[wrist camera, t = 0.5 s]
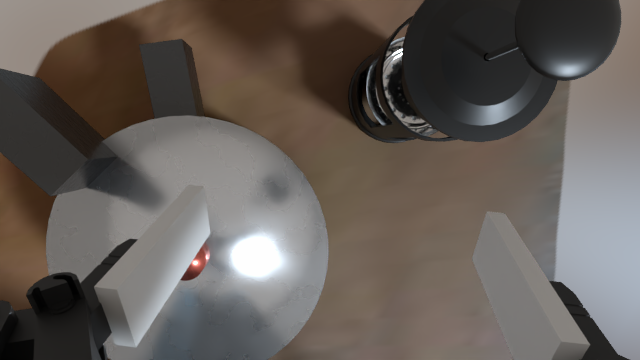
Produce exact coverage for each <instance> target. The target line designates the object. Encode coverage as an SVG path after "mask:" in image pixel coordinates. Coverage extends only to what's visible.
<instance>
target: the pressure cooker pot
mask: <svg viewBox="0 0 640 360" xmlns="http://www.w3.org/2000/svg"><path fill="white" fill-rule="evenodd" d="M139 46H140V51H141V56H142V61H143V65H144V70H145V75H146V80H147V84H148V89H149V94H150V98H151V103H152V108H153V113H154V117H155V119H157V118H162V117H168V116H199V117H205V115H204V110H203V104H202V99H201V94H200V89H199V84H198V79H197V73H196V68H195V63H194V58H193V53H192V48H191V47H190V46H189V45H188V44H187V43H186V42H185V41H184V40H182V39H178V40H171V41H163V42H156V43H148V44H141V45H139Z"/></svg>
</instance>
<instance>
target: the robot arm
mask: <svg viewBox="0 0 640 360" xmlns="http://www.w3.org/2000/svg"><path fill="white" fill-rule="evenodd" d="M209 235H210V226H209V219H208V211H207V204H206V197H205V190H204V186H194V185H188V186H187V187H186V188H185V189H184V191H183V192H182V193H181V194H180V195H179V196H178V197H177V198H176V199H175V200H174V201H173V202H172V203H171V204H170V206H169V207H168V208H167V209H166V210H165V211H164V212H163V213H162V214H161V215H160V216H159V217H158V218H157V220H156V221H155V222H154V223H153V224H152V225H151V226H150V227H149V228H148V229H147V230H146V231H145V232H144V234H143V235H142V236H141V237H140V238H139V239H128V240H127V241H125V242H123V243H121V244H120V245H118V246H117V247H116V248H115V249H114V250H113V251H112V252H111V253H110V254H109V255H108V257H106V258H105V259H104V260H103V261H102V262H101V264H99V265H98V266H97V267H96V268H95V269H94V270H93V271H92V272H91V273H90V274H89V275H88V276H87V277H86V278H85V279H84V280H83V281H82V282H81V283H80V282H79V279H78V277H77V275H76V274H74V273H71V272H60V273H55V274H52V275H49V276H47V277H44V278H42V279H41V280H39V281H38V282H36V283H35V284H34V285H33V286H32V287H31V288H30V289H29V290H28V292H27V295H26V296H27V298H28V300H29V302H30V304H31V306H32V309H25V310H18V311H14V310H13V308H12V306H11V305H10V303H9V302H6V301H3V300H2V301H0V360H108V359H107V352H106V348H105V345H104V343H105V341H106V340H107V339H108V337H109V336H110V335H111V334H112V337H113V340H114V343H115V345H121V346H128V347H137V345H138V344H139V342H140V341H141V339H142V338H143V336H144V335H145V333H146V332H147V330H148V329H149V327H150V325H151V324H152V322H153V321H154V319H155V318H156V316H157V315H158V313H159V312H160V310H161V308H162V307H163V305H164V304H165V302H166V301H167V299H168V298H169V296H170V295H171V293H172V292H173V290H174V288H175V287H176V285H177V284H178V282H179V281H180V279H181V278H182V276H183V275H184V273H185V271H186V270H187V268H188V267H189V265H190V264H191V262H192V261H193V259H194V258H195V256H196V255H197V253H198V251H199V250H200V248H201V247H202V245H203V244H204V242H205V241H206V239H207V238H208V236H209ZM472 261H473V263H474V265H475V268H476V270H477V273H478V275H479V278H480V280H481V282H482V285H483V287H484V290H485V292H486V295H487V297H488V299H489V302H490V304H491V307H492V309H493V312H494V314H495V316H496V319H497V321H498V324H499V326H500V329H501V331H502V333H503V336H504V338H505V341H506V343H507V346H508V348H509V350H510V353H511V355H512V358H513V360H629V359H627V358H625V357H622V356H620V355H618V354H617V353H616V351H615V350H614V349H613V347H612V346H611V344H610V343H609V341H608V340H607V339H606V337H605V336H604V334H603V333H602V332H601V330H600V329H599V327H598V326H597V325H596V323H595V322H594V320H593V319H592V318H590V315H589V313H588V312H587V310H586V309H585V308H583V305H582V303H581V302H580V301H579V299H578V298H577V296H576V295H575V294H574V293H573V292H572V291H571V290H570V289H568V288H567V287H566V286H565V285H564V284H563V283H561V282H554V281H548V279H547V278H546V276H545V274H544V273H543V271H542V270H541V268H540V267H539V265H538V264H537V262H536V261H535V259H534V258H533V256H532V254H531V253H530V251H529V250H528V248H527V247H526V245H525V244H524V242H523V241H522V239H521V238H520V236H519V234H518V233H517V231H516V230H515V228H514V227H513V225H512V224H511V222H510V221H509V219H508V218H507V216H506V214H505V213H497V212H487V213H486V216H485V219H484V222H483V226H482V229H481V232H480V235H479V238H478V241H477V245H476V248H475V251H474V254H473V257H472Z"/></svg>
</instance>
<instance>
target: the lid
mask: <svg viewBox="0 0 640 360" xmlns="http://www.w3.org/2000/svg"><path fill="white" fill-rule="evenodd" d="M0 152H1V153H2V154H3V155H4V156H5V157H6V158H8V159H9V160H10V161H11V162H12V163H13V164H14V165H15V166H17V167H18V168H19V169H20V170H21V171H22V172H23V173H25V174H26V175H27V176H28V177H29V178H30V179H31V180H32V181H34V182H35V183H36V184H37V185H38V186H39V187H40V188H42V189H43V190H44V191H45V192H46V193H47V194H48V195H49V196H54V195H57V197H56V199H55V201H54V204H53V207H52V211H51V214H50V217H49V222H48V229H47V236H46V257H47V264H48V271H49V275H52V274H55V273H60V272H71V273H74V274H76V275H77V277H78V279H79V282H80V283H81V282H82V281H83V280H84V279H85V278H86V277H87V276H88V275H89V274H90V273H91V272H92V271H93V270H94V269H95V268H96V267H97V266H98V265H99V264H101V262H102V261H103V260H104V259H105V258H106V257H108V255H109V254H110V253H111V252H112V251H113V250H114V249H115V248H116V247H117V246H118V245H120V244H121V243H123V242H125V241H127V240H128V239H139V238H140V237H141V236H142V235H143V234H144V232H145V231H146V230H147V229H148V228H149V227H150V226H151V225H152V224H153V223H154V222H155V221H156V220H157V218H158V217H159V216H160V215H161V214H162V213H163V212H164V211H165V210H166V209H167V208H168V207H169V206H170V204H171V203H172V202H173V201H174V200H175V199H176V198H177V197H178V196H179V195H180V194H181V193H182V192H183V191H184V189H185V188H186V187H187V186H188V185H194V186H204V190H205V197H206V204H207V211H208V219H209V226H210V235H209V236H208V238H207V239H206V241H205V242H204V244H203V245H202V247H201V248H200V250H199V251H198V253H197V255H196V256H195V258H194V259H193V261H192V262H191V264H190V265H189V267H188V268H187V270H186V271H185V273H184V275H183V276H182V278H181V279H180V281H179V282H178V284H177V285H176V287H175V288H174V290H173V292H172V293H171V295H170V296H169V298H168V299H167V301H166V302H165V304H164V305H163V307H162V308H161V310H160V312H159V313H158V315H157V316H156V318H155V319H154V321H153V322H152V324H151V325H150V327H149V329H148V330H147V332H146V333H145V335H144V336H143V338H142V339H141V341H140V342H139V344H138V345H137V347H128V346H121V345H115V343H114V340H113V337H112V334H111V335H110V336H109V337H108V339H107V340H106V341H105V343H104V345H105V348H106V352H107V357H108V358H109V359H111V360H267V359H269V358H270V357H272V356H273V355H275V354H276V353H278V352H279V351H280V350H281V349H282V348H283V347H285V346H286V345H287V344H288V343H289V342H290V341H291V340H292V339H293V338H294V337H295V336H296V335H297V334H298V332H299V331H300V330H301V329H302V327H303V326H304V324H305V323H306V322H307V320H308V319H309V317H310V316H311V314H312V312H313V310H314V308H315V306H316V304H317V302H318V300H319V297H320V294H321V292H322V289H323V286H324V282H325V277H326V273H327V265H328V236H327V230H326V224H325V219H324V216H323V213H322V210H321V207H320V204H319V202H318V199H317V197H316V195H315V193H314V191H313V189H312V187H311V185H310V183H309V182H308V180H307V179H306V177H305V176H304V174H303V172H302V171H301V170H300V169H299V168H298V166H297V165H296V164H295V163H294V162H293V161H292V159H291V158H290V157H289V156H287V155H286V154H285V153H284V152H283V151H282V150H281V149H280V148H279V147H277V146H276V145H275V144H273V143H272V142H270V141H269V140H267V139H266V138H264V137H263V136H261V135H259V134H257V133H255V132H253V131H251V130H249V129H247V128H244V127H242V126H239V125H236V124H233V123H231V122H227V121H223V120H218V119H214V118H209V117H199V116H168V117H162V118H157V119H151V120H147V121H144V122H141V123H138V124H134V125H132V126H129V127H127V128H125V129H123V130H121V131H119V132H116V133H114V134H113V135H111V136H110V137H108V138H107V139H104V138H103V137H102V136H101V135H100V134H99V133H98V132H96V131H95V130H94V129H93V128H92V127H91V126H90V125H89V124H88V123H87V122H86V121H85V120H84V119H83V118H82V117H80V116H79V115H78V114H77V113H76V112H75V111H74V110H73V109H72V108H71V107H70V106H69V105H68V104H67V103H66V102H64V101H63V100H62V99H61V98H60V97H59V96H58V95H57V94H56V93H55V92H54V91H53V90H52V89H51V88H50V87H49V86H47V85H46V84H45V83H44V82H43V81H42V80H41V79H40V78H37V77H33V76H29V75H24V74H20V73H16V72H12V71H8V70H4V69H0Z"/></svg>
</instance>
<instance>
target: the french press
mask: <svg viewBox="0 0 640 360" xmlns="http://www.w3.org/2000/svg"><path fill="white" fill-rule="evenodd" d="M408 24H409V26H408V28H407V32H406V35H405V37H403V38H400V39H397V40H395V41H393V42H392V40H393V39H394V37H395V36H396V35H397V33H398V32H399V31H400V30H401V29H402V28H403V27H405V26H407V25H408ZM620 27H621V9H620V4H619V0H424V2H423V3H422V4H421V6H420V7H419V8H418V10H417V11H416V12H415V14H414V16H412V17H410V18H409V19H407V20H406V21H405V22H404V23H403V24H402V25H401V26H400V27H398V29H397V30H396V31H395V32H394V33H393V34H392V35H391V36H390V37H389V38H388V39H387V40H386V41H385V42H384V43H383V44H382V45H381V46H380V47H379V49H378V50H377V51H376V52H375V53H374V54H372V55H371V56H369V57H368V58H367V59H366V60H364V61H363V62H362V63H361V64H360V66H359V67H358V68H357V70H356V71H355V73H354V75H353V77H352V79H351V83H350V86H349V95H348V99H349V107H350V110H351V114H352V116H353V118H354V120H355V122H356V124H357V125H358V126H359V127H360V128H361V130H362V131H364V132H365V133H366V134H367V135H369V136H370V137H372V138H374V139H376V140H379V141H382V142H387V143H399V142H405V141H407V140H414V139H421V140H425V141H451V140H457V139H460V140H463V141H474V142H485V141H492V140H498V139H501V138H504V137H507V136H509V135H512V134H514V133H515V132H517V131H519V130H520V129H522V128H524V127H525V126H527V125H528V124H529V123H530V122H531V121H532V120H533V119H535V118H536V117H537V116H538V114H539V113H540V112H541V111H542V109H543V108H544V107H545V106H546V104H547V103H548V101H549V99H550V97H551V95H552V93H553V91H554V90H555V87H556V84H557V80H562V81H567V80H575V79H578V78H581V77H584V76H586V75H588V74H589V73H591V72H593V71H594V70H596V69H597V68H598V67H599V66H600V65H601V64H603V63H604V61H605V60H606V59H607V58H608V56H609V55H610V54H611V52H612V50H613V48H614V46H615V45H616V42H617V39H618V36H619V33H620ZM366 78H367V85H366V91H367V99H368V102H369V106H370V109H371V110H372V112H373V114H374V116H375V117H376V119H377V120H378V121H379V122H380V123H381V125H376V124H375V123H374V122H372V121H371V119H370V118H369V117H368V116H367V114H366V112H365V110H364V107H363V104H362V89H363V85H364V82H365V80H366ZM437 131H440V132H442V133H444V134H446V135H448V136H450V137H446V138H431V137H427V136H428V135H431V134H434V133H436V132H437Z"/></svg>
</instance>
